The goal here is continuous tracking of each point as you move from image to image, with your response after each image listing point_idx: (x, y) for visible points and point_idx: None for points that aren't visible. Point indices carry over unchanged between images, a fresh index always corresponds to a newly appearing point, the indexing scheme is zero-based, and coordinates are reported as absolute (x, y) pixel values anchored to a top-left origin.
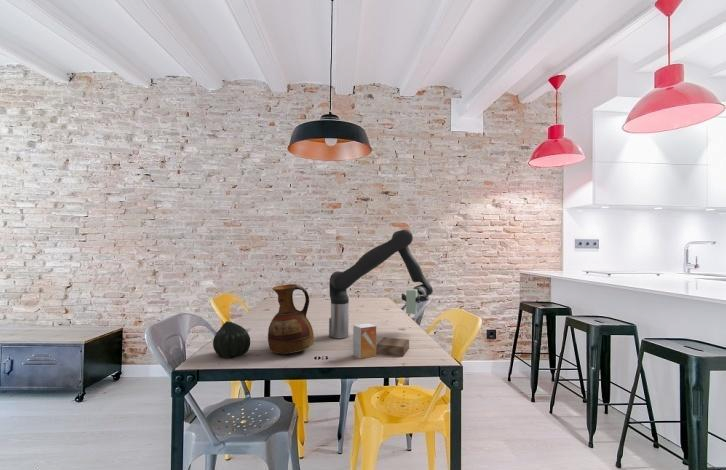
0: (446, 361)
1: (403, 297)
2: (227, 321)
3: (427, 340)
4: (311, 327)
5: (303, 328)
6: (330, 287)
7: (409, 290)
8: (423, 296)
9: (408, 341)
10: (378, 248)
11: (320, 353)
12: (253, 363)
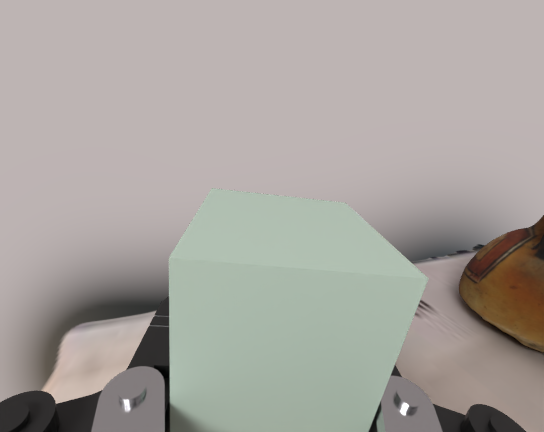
0: (85, 352)
1: (452, 428)
2: None
3: None
4: (512, 282)
5: (485, 257)
6: None
7: (301, 201)
8: (5, 405)
9: None
10: None
11: (447, 326)
12: (461, 269)
